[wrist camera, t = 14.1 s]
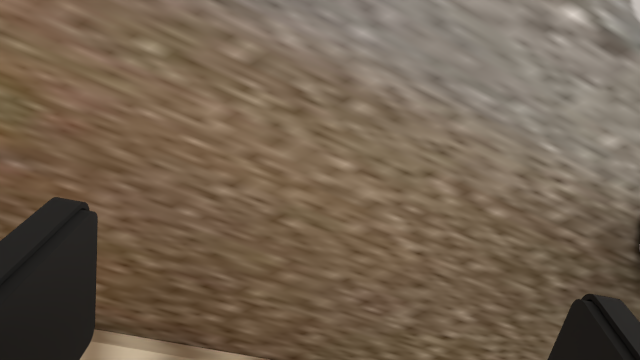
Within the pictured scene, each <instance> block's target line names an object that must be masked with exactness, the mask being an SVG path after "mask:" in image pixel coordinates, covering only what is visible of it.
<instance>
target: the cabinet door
mask: <svg viewBox="0 0 640 360" xmlns="http://www.w3.org/2000/svg"><path fill="white" fill-rule="evenodd" d="M80 360H269V359H264V358H258V357H252V356H246V355H241V354H235V353H229V352H223V351H217V350H212V349H206V348H200V347H194V346H189V345H183V344H177V343H171V342H166V341H160V340H154V339H148V338H142V337H137V336H131V335H125V334H119V333H114V332H108V331H102V330H96V329H94V334H93V337H92V340H91V342H90V344H89V346H88V348H87V349H86V351H85V352H84V354H83V355H82V357H81V358H80Z"/></svg>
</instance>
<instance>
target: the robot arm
mask: <svg viewBox="0 0 640 360" xmlns="http://www.w3.org/2000/svg"><path fill="white" fill-rule="evenodd" d="M97 223H98V220H97V214H96V213H95V212H93V211H89V207H88V204H87V203H85V202H80V201H74V200H69V199H63V198H58V197H54V198H52V199H51V200H50V201H48V202H47V203H46V204H45V205H44V206H42V207H41V208H40V209H39V210H37V211H36V212H35V213H34V214H33V215H31V216H30V217H29V218H28V219H27V220H25V221H24V222H23V223H22V224H20V225H19V226H18V227H17V228H16V229H14V230H13V231H12V232H11V233H10V234H8V235H7V236H6V237H5V238H4V239H2V240H1V241H0V360H80V358H81V357H82V355H83V354H84V352H85V351H86V349H87V348H88V346H89V344H90V342H91V340H92V337H93V334H94V329H95V302H96V262H97ZM639 250H640V246H639ZM548 360H640V322H639V321H638V320H637V319H636V317H635V316H634V315H633V314H632V313H631V311H630V310H629V309H628V308H627V306H626V305H625V304H624V303H623V302H622V301H621V300H620V299H616V298H610V297H605V296H599V295H594V294H587V295H585V296H584V297H583V298H582V299H581V300H580V299H578V300H575V301H574V302H573V304H572V306H571V308H570V310H569V312H568V315H567V317H566V319H565V321H564V324H563V326H562V328H561V331H560V333H559V335H558V337H557V340H556V342H555V344H554V346H553V349H552V351H551V353H550V356H549V358H548Z"/></svg>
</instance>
